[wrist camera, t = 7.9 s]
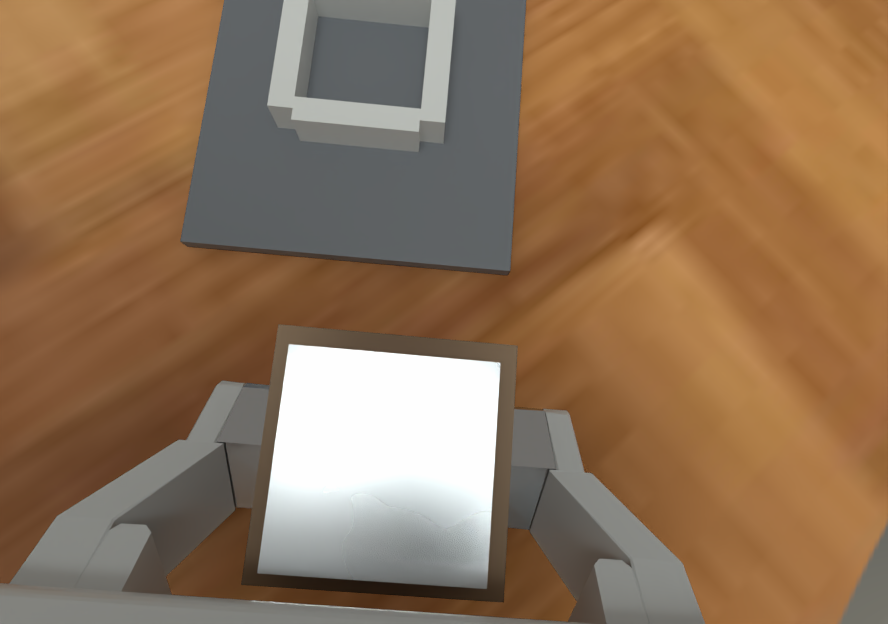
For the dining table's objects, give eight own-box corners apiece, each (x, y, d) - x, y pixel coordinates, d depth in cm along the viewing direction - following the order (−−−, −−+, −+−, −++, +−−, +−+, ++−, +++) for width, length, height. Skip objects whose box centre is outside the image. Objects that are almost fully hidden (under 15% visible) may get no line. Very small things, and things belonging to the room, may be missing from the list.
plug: (319, 505, 15) (223, 603, 7) (336, 364, 16) (265, 315, 8) (460, 517, 15) (513, 621, 8) (470, 376, 16) (527, 339, 8)
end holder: (187, 246, 27) (160, 227, 24) (247, -91, 31) (230, -141, 28) (507, 275, 27) (517, 259, 24) (527, -61, 31) (537, -107, 28)
